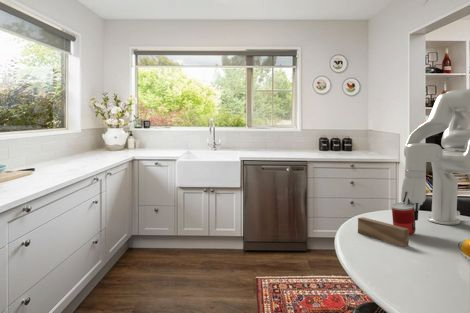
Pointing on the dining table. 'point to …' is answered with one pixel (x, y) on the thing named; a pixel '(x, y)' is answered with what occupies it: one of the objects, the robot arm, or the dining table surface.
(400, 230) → the walnut board
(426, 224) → the dining table surface
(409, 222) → the canned food
